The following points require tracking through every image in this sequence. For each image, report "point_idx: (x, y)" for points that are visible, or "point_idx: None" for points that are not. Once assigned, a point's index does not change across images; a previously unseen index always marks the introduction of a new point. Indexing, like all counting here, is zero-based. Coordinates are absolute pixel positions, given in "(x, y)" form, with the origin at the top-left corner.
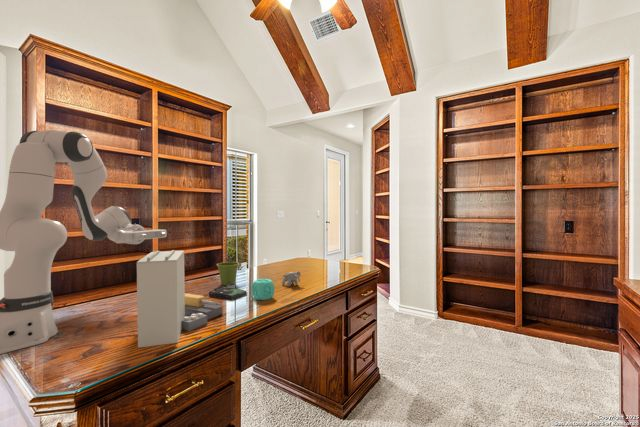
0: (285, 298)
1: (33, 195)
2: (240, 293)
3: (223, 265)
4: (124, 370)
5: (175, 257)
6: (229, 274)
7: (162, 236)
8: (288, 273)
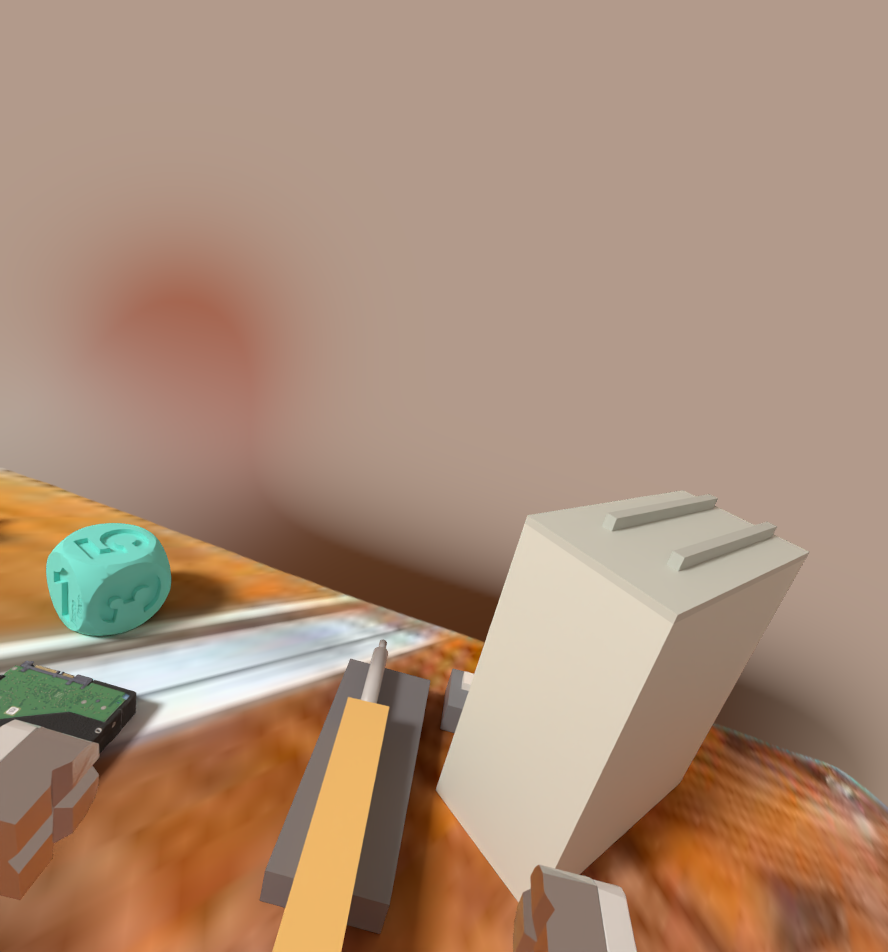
0: None
1: None
2: (70, 677)
3: None
4: (737, 732)
5: (664, 500)
6: None
7: (87, 805)
8: None
